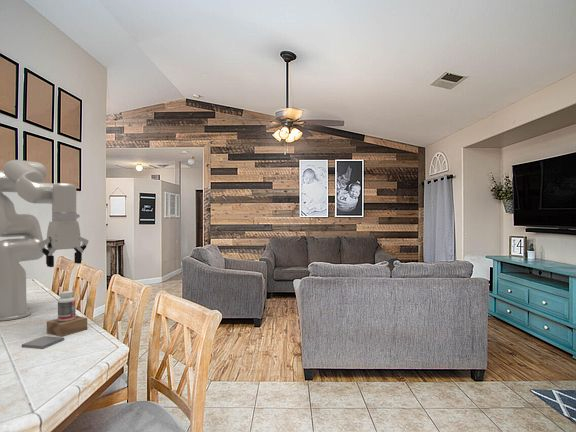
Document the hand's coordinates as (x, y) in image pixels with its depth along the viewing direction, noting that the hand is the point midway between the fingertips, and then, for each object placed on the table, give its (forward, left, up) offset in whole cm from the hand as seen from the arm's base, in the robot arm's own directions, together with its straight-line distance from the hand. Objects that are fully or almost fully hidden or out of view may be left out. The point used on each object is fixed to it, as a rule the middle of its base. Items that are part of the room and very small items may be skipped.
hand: (64, 265), depth 133 cm
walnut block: (+4, -2, -23) cm, 23 cm away
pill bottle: (+4, -2, -19) cm, 20 cm away
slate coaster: (+10, -13, -23) cm, 28 cm away
